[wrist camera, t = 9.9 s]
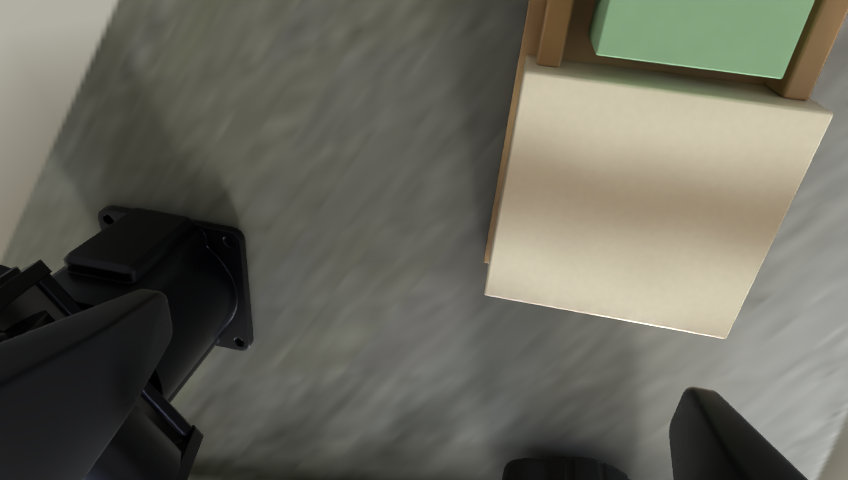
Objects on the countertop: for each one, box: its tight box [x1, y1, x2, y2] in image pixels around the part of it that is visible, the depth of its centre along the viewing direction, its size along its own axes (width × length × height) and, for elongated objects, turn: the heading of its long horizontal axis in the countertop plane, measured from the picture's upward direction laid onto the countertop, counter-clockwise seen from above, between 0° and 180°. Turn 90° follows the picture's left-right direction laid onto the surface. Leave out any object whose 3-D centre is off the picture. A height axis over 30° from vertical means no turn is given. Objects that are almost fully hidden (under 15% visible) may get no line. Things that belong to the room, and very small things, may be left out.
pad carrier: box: [484, 0, 848, 339], centre depth 16 cm, size 16×8×3 cm, turn 175°
